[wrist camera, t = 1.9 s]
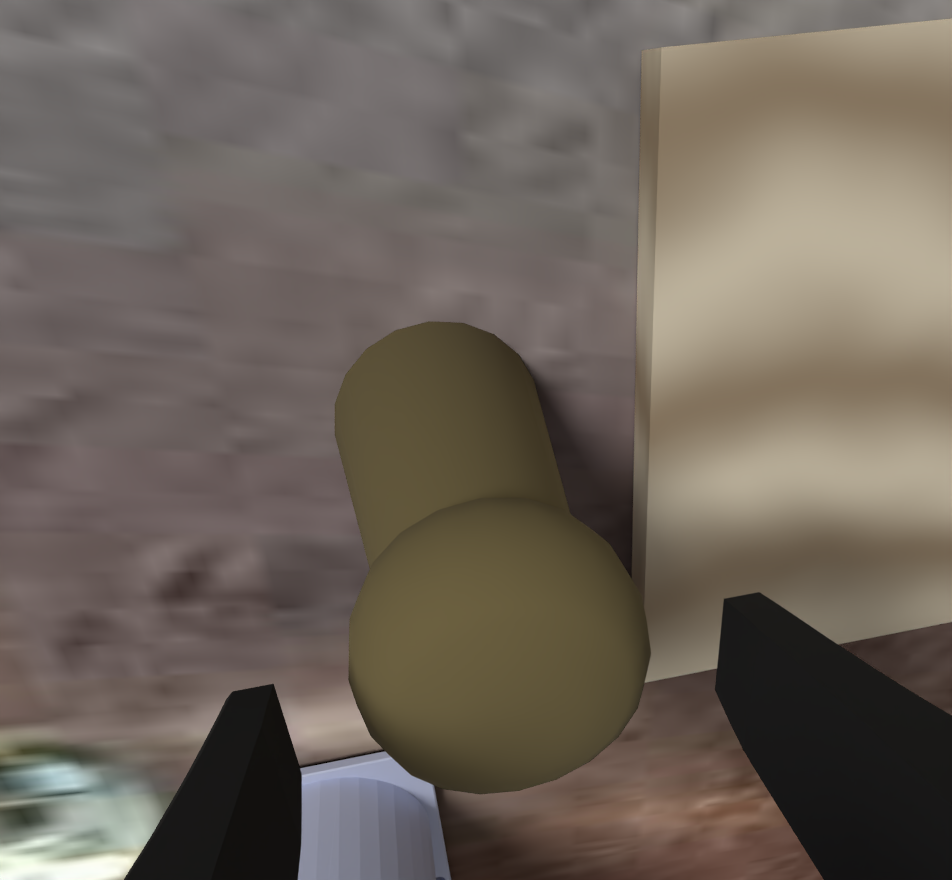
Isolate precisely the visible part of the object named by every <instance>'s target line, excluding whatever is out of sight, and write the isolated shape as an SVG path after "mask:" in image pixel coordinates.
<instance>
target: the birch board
mask: <svg viewBox="0 0 952 880" xmlns="http://www.w3.org/2000/svg"><path fill="white" fill-rule="evenodd" d="M632 580H633V582H634V584H635V585H636V587H637V589H638V590H639V592H640V594H641V595H642V600H643V605H644V610H645V615H646V619H647V626H648V634H649V641H650V648H651V657H650V661H649V666H648V670H647V675H646V679H645V683H646V682H651V681H656V680H661V679H666V678H671V677H676V676H681V675H686V674H691V673H696V672H701V671H707V670H712V669H717V664H718V654H719V644H720V633H721V623H722V612H723V602H724V599H725V598H730V597H736V596H741V595H746V594H752V593H757V592H760V593H762V594H763V595H765V596H766V597H768V598H769V599H771V600H772V601H774V602H775V603H777V604H779V605H780V606H782V607H783V608H784V609H786V610H787V611H789V612H790V613H792V614H793V615H795V616H796V617H798V618H799V619H801V620H802V621H804V622H805V623H807V624H808V625H810V626H811V627H813V628H814V629H816V630H817V631H819V632H820V633H821V634H823V635H824V636H826V637H827V638H829V639H830V640H832V641H833V642H835V643H836V644H843V643H848V642H853V641H858V640H863V639H868V638H873V637H878V636H883V635H888V634H893V633H898V632H903V631H908V630H913V629H918V628H923V627H928V626H934V625H939V624H944V623H949V622H952V19H944V20H934V21H924V22H914V23H903V24H893V25H883V26H873V27H863V28H853V29H843V30H833V31H823V32H813V33H803V34H793V35H783V36H773V37H763V38H753V39H742V40H732V41H722V42H712V43H702V44H692V45H682V46H672V47H662V48H655V49H648V50H642V63H641V115H640V168H639V220H638V272H637V324H636V377H635V429H634V481H633V534H632Z"/></svg>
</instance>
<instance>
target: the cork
mask: <svg viewBox="0 0 952 880" xmlns="http://www.w3.org/2000/svg"><path fill="white" fill-rule="evenodd" d="M335 437H336V441H337V445H338V448H339V452H340V456H341V460H342V464H343V468H344V471H345V475H346V479H347V483H348V487H349V491H350V495H351V498H352V502H353V506H354V510H355V514H356V518H357V521H358V525H359V529H360V533H361V537H362V541H363V544H364V548H365V552H366V556H367V560H368V564H369V568H370V570H369V572H368V575H367V577H366V579H365V582H364V584H363V586H362V589H361V591H360V593H359V596H358V598H357V601H356V604H355V606H354V609H353V611H352V614H351V616H350V627H349V683H350V686H351V689H352V692H353V695H354V698H355V701H356V704H357V706H358V709H359V711H360V713H361V715H362V718H363V720H364V722H365V724H366V727H367V729H368V731H369V733H370V735H371V737H372V738H373V739H374V740H375V741H376V742H377V743H378V744H379V745H380V746H381V747H382V748H383V749H384V751H385V752H386V753H387V754H388V755H389V756H391V757H392V758H393V759H394V760H395V761H396V762H397V763H398V764H399V765H400V766H401V767H402V768H404V769H405V770H406V771H407V772H408V773H409V774H410V775H411V776H414V777H416V778H418V779H421V780H423V781H425V782H428V783H430V784H432V785H435V786H437V787H439V788H442V789H446V790H453V791H460V792H467V793H475V794H488V793H499V792H511V791H520V790H523V789H526V788H530V787H533V786H536V785H540V784H543V783H546V782H550V781H553V780H556V779H558V778H560V777H562V776H564V775H566V774H568V773H569V772H571V771H573V770H575V769H577V768H579V767H581V766H582V765H584V764H586V763H588V762H590V761H591V760H592V759H594V758H595V757H596V756H597V755H598V754H599V753H600V752H602V751H603V750H604V749H605V748H606V747H607V746H608V745H610V744H611V743H612V742H613V741H614V740H615V739H616V738H618V737H619V735H620V734H621V732H622V731H623V729H624V728H625V726H626V725H627V723H628V722H629V720H630V719H631V717H632V716H633V714H634V713H635V711H636V710H637V708H638V705H639V702H640V698H641V694H642V690H643V686H644V683H645V679H646V675H647V670H648V666H649V661H650V657H651V648H650V641H649V634H648V626H647V619H646V615H645V610H644V605H643V600H642V595H641V594H640V592H639V590H638V589H637V587H636V585H635V584H634V582H633V580H632V579H631V577H630V575H629V574H628V572H627V571H626V569H625V567H624V566H623V564H622V563H621V561H620V559H619V558H618V556H617V555H616V553H615V551H614V550H613V548H612V547H611V545H610V544H609V543H608V542H607V541H605V540H604V539H603V538H602V537H600V536H599V535H598V534H597V533H596V532H594V531H593V530H592V529H590V528H589V527H588V526H586V525H585V524H583V523H582V522H581V521H579V520H578V519H576V518H575V517H574V516H572V515H571V514H570V511H569V507H568V503H567V500H566V496H565V492H564V489H563V485H562V482H561V478H560V474H559V471H558V467H557V463H556V460H555V456H554V452H553V449H552V445H551V441H550V438H549V434H548V431H547V427H546V423H545V420H544V416H543V412H542V409H541V405H540V401H539V398H538V394H537V391H536V387H535V383H534V380H533V378H532V376H531V375H530V373H529V371H528V370H527V368H526V366H525V365H524V363H523V361H522V360H521V358H520V357H519V355H518V354H517V353H516V352H515V351H514V350H512V349H511V348H510V347H509V346H507V345H506V344H505V343H504V342H503V341H501V340H500V339H499V338H498V337H496V336H495V335H494V334H491V333H489V332H486V331H483V330H481V329H478V328H475V327H472V326H470V325H467V324H464V323H451V322H425V323H422V324H418V325H414V326H411V327H407V328H403V329H399V330H396V331H394V332H392V333H391V334H389V335H388V336H386V337H385V338H383V339H381V340H380V341H378V342H377V343H375V344H374V345H372V346H371V347H369V348H367V349H366V350H365V352H364V353H363V354H362V355H361V356H360V358H359V359H358V360H357V361H356V363H355V364H354V365H353V366H352V368H351V369H350V370H349V371H348V372H347V374H346V375H345V378H344V381H343V383H342V386H341V389H340V392H339V394H338V397H337V400H336V402H335Z"/></svg>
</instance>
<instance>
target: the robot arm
mask: <svg viewBox="0 0 952 880" xmlns="http://www.w3.org/2000/svg"><path fill="white" fill-rule="evenodd" d="M715 691H716V693H717V695H718V697H719V699H720V702H721V704H722V706H723V708H724V710H725V713H726V715H727V717H728V719H729V721H730V724H731V726H732V728H733V730H734V732H735V734H736V736H737V738H738V740H739V742H740V744H741V746H742V748H743V750H744V752H745V753H746V755H747V757H748V758H749V760H750V762H751V763H752V765H753V767H754V768H755V770H756V772H757V773H758V775H759V776H760V778H761V780H762V781H763V783H764V785H765V786H766V788H767V789H768V791H769V793H770V794H771V796H772V797H773V799H774V801H775V802H776V804H777V805H778V807H779V809H780V810H781V812H782V813H783V815H784V817H785V818H786V820H787V821H788V823H789V825H790V826H791V828H792V829H793V831H794V833H795V834H796V836H797V837H798V839H799V841H800V842H801V844H802V845H803V847H804V849H805V850H806V852H807V853H808V855H809V857H810V858H811V860H812V861H813V863H814V865H815V866H816V868H817V869H818V871H819V873H820V874H821V876H822V877H823V879H824V880H952V716H951V715H950V714H948V713H946V712H945V711H943V710H941V709H939V708H938V707H936V706H934V705H933V704H931V703H929V702H927V701H926V700H924V699H922V698H921V697H919V696H918V695H916V694H914V693H913V692H911V691H909V690H908V689H906V688H905V687H903V686H901V685H900V684H898V683H896V682H895V681H893V680H892V679H890V678H889V677H887V676H885V675H884V674H882V673H881V672H879V671H878V670H876V669H874V668H873V667H871V666H870V665H868V664H867V663H865V662H864V661H862V660H861V659H859V658H858V657H856V656H854V655H853V654H851V653H850V652H848V651H847V650H845V649H844V648H842V647H841V646H839V645H838V644H836V643H835V642H833V641H832V640H830V639H829V638H827V637H826V636H824V635H823V634H821V633H820V632H819V631H817V630H816V629H814V628H813V627H811V626H810V625H808V624H807V623H805V622H804V621H802V620H801V619H799V618H798V617H796V616H795V615H793V614H792V613H790V612H789V611H787V610H786V609H784V608H783V607H782V606H780V605H779V604H777V603H775V602H774V601H772V600H771V599H769V598H768V597H766V596H765V595H763V594H762V593H760V592H757V593H752V594H746V595H741V596H736V597H730V598H725V599H724V602H723V612H722V623H721V633H720V644H719V654H718V664H717V675H716V685H715ZM124 880H451V876H450V870H449V865H448V859H447V854H446V848H445V843H444V837H443V831H442V826H441V820H440V815H439V809H438V804H437V798H436V793H435V787H434V785H432V784H430V783H428V782H425V781H423V780H421V779H418V778H416V777H414V776H411V775H410V774H409V773H408V772H407V771H406V770H405V769H404V768H402V767H401V766H400V765H399V764H398V763H397V762H396V761H395V760H394V759H393V758H392V757H391V756H389V755H388V754H387V753H386V752H385V751H384V752H379V753H374V754H369V755H364V756H359V757H354V758H349V759H344V760H339V761H334V762H329V763H324V764H319V765H314V766H309V767H304V768H300V767H299V763H298V760H297V757H296V754H295V751H294V748H293V744H292V741H291V738H290V735H289V732H288V729H287V725H286V722H285V719H284V716H283V713H282V709H281V706H280V703H279V700H278V697H277V694H276V690H275V687H274V684H270V685H265V686H260V687H254V688H249V689H244V690H239V691H233V692H232V693H231V694H230V695H229V697H228V698H227V699H226V701H225V703H224V705H223V707H222V709H221V711H220V713H219V715H218V717H217V719H216V721H215V723H214V725H213V727H212V729H211V731H210V733H209V734H208V736H207V738H206V740H205V742H204V744H203V746H202V748H201V750H200V751H199V753H198V755H197V757H196V759H195V761H194V762H193V764H192V766H191V768H190V770H189V772H188V773H187V775H186V777H185V779H184V781H183V782H182V784H181V786H180V788H179V789H178V791H177V793H176V795H175V796H174V798H173V800H172V801H171V803H170V805H169V807H168V808H167V810H166V812H165V814H164V815H163V817H162V819H161V820H160V822H159V824H158V826H157V827H156V829H155V831H154V832H153V834H152V836H151V837H150V839H149V841H148V842H147V844H146V846H145V847H144V849H143V850H142V852H141V853H140V855H139V857H138V858H137V860H136V861H135V863H134V864H133V866H132V868H131V869H130V871H129V872H128V874H127V875H126V877H125V878H124Z"/></svg>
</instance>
